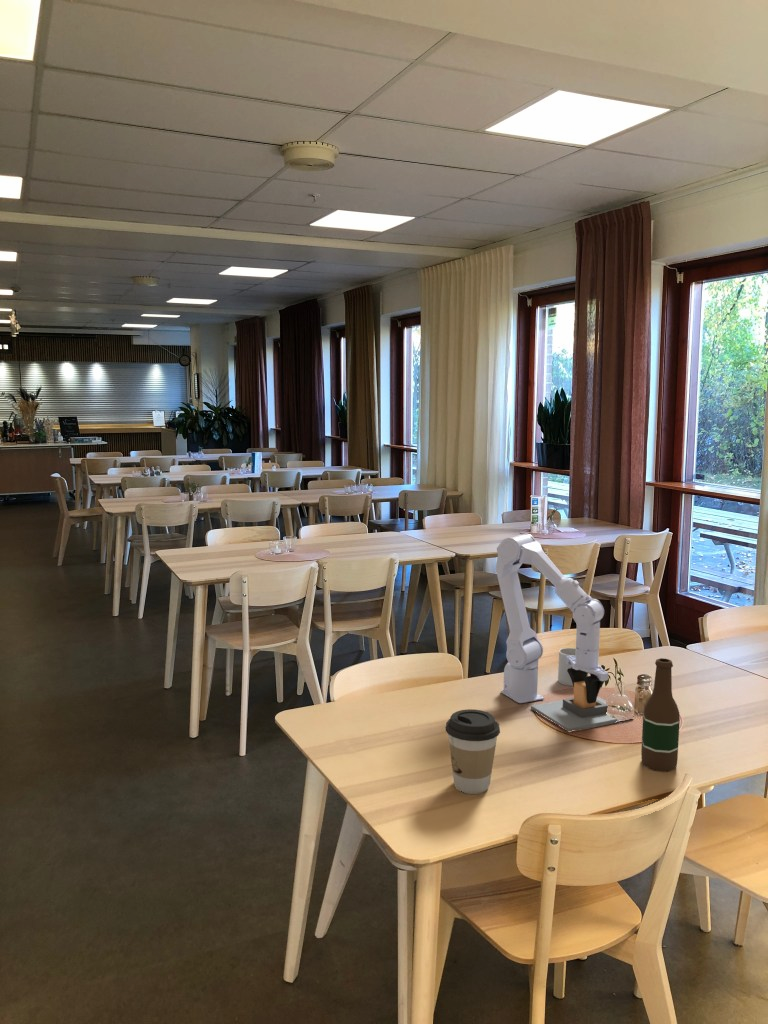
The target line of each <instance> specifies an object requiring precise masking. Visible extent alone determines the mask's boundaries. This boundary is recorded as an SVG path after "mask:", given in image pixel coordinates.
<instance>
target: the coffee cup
mask: <svg viewBox="0 0 768 1024" xmlns="http://www.w3.org/2000/svg"><path fill="white" fill-rule="evenodd" d="M445 733H447V734H448V735H447V736H448V741H449V742H448V743H449V744H448V745H449V751H450V753H449V754H450V761H451V768H452V777H453V779H452V780H453V784H454V787H455V786H456V787H455V788H457V789H458V791H459V790H460V791H459V792H461V791H462V792H461V793H463V792H464V794H469V795H478V793H479V794H483V793H486V791H488V789H489V787H490V784H491V779H492V777H491V776H492V772H493V767H494V766H493V765H494V759H495V753H496V747H497V739H498V737H499V735H500V734H501V728H500V724H499V722H498V721H497V720H496V718H495V716H494V715H493V714H492V713H490V712H488V711H485V710H482V709H481V710H480V709H472V708H471V709H470V708H469V709H461V710H458V711H457V710H456V711H455V712H453V713H451V715H450V718H448V720H447V721H446V723H445ZM457 789H456V790H457Z"/></svg>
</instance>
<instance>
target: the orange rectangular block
mask: <svg viewBox="0 0 768 1024" xmlns="http://www.w3.org/2000/svg"><path fill="white" fill-rule="evenodd" d="M573 698H574V702H573V703H574V704H576V705H578V706H580V707H581V708H588V707H593V706H596V702H595V703H588V702H587V690H586V685H585V681H580V682H574V687H573Z"/></svg>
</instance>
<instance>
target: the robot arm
mask: <svg viewBox="0 0 768 1024" xmlns="http://www.w3.org/2000/svg"><path fill="white" fill-rule="evenodd" d="M541 545H542V544H541V543H540V542H538V540H536V538H534V536H533V535H532V534H529V533H521V534H519V535H515V536H511V537H506V538H504V539H502V540H501V541H500V543H499V545H498V546H497V547H496V551H497V558H496V563H495V571H496V576H497V580H498V584H499V585H498V586H499V590H500V595H501V599H502V603H503V607H504V611H505V616H506V620H507V623H508V629H509V634H508V637H507V638H506V641H505V642H506V654H505V656H506V659H507V663H506V664H505V666H504V668H503V669H504V670H503V689H501V690H500V693H502V694H503V695H505V696H507V697H508V698H509V699H511V700H512V701H514V702H516V703H518V704H524V703H530V702H535V701H541V700H544V699H545V697H544V696H542V695H540V693H538V684H539V683H538V682H539V679H538V678H539V676H538V675H539V659H541V658H542V656H543V654H544V647H543V644H542V643H541V641H540V640H539V638H538V636H537V635H538V634H537V632H536V631H535V630H533V629H532V628H531V626H530V621H529V617H528V612H527V609H526V604H525V601H524V595H523V590H522V586H521V581H520V577H519V573H518V570H520V568H521V566H522V565H523V564H524V565H530V566H531V565H532V566H533V567H534V568H536V569H537V570H538V571H539V572H540V574H542V575H543V576H544V577H545V578H546V579H547V580H548V581H549V582H551V584H552V585H553V586H554V592H555V593H554V594H556V596H557V597H559V599H560V601H562V602H563V603H564V604H565V605H566V607H567V608H568V609H569V610H570V611H571V612H572V618H573V621H574V622H575V623H576V629H575V630H576V632H575V633H576V635H575V648H576V657H574V656H567V657H566V664H568V665H570V664H571V665H572V667H571V668H569V669H567V672H568V674H569V675H570V678H571V680H572V683H573V686H572V687H573V688H574V682H580V681H585V685H586V690H587V702H588V703H595V702H596V699H597V696H598V697H599V693H600V691H601V688H602V686H603V684H604V683H605V682H607V681H608V680H609V672H607V671H606V670H604V669H603V667H602V666H601V665H600V664H599V659H600V658H599V656H600V655H599V653H600V637H601V636H600V633H601V632H600V631H601V629H600V628H601V620H602V619H603V618H604V615H605V609H604V606H603V604H602V602H601V601H600V600H599V599H596V598H593V597H592V596H591V595H590V594H589V595H588V593H586V591H584V589H583V588H582V587H581V586H580V585H579V584H580V582H578V581H579V580H578V581H577V579H573V578H572V577H565V576H564V574H563V573H562V571H560V570H559V568H558V567H557V565H555V563H554V562H553V561H552V559H550V558H549V556H548V555H547V554H546V552H544V550H543V548H542V546H541ZM587 674H588V676H587Z"/></svg>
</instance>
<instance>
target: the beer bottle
mask: <svg viewBox="0 0 768 1024" xmlns="http://www.w3.org/2000/svg"><path fill="white" fill-rule="evenodd" d="M654 664H655V666H656V667H655V674H654V675H655V676H654V682H653V690H652V692H651V694H650V695H649V697H648V698H647V699H646V701H645V704H644V706H643V711H642V717H643V718H642V728H641V729H642V731H641V732H642V734H641V755H640V757H641V761H642V764H643V766H644V767H645V768H648V769H650V770H652V771H654V772H655V771H656V772H667V773H668V772H670V771H673V770H674V769H675V770H676V768H677V765H678V755H679V742H680V741H679V738H680V737H679V735H680V722H681V721H680V720H681V719H680V711H679V707H678V705H677V702H676V701H675V699H674V697H673V689H672V687H673V686H672V685H673V683H672V682H673V681H672V677H673V676H672V673H673V672H672V668H673V667H674V665H673V661H672V660H671V659H668V658H663V657H661V658H658V659H656V660H655V662H654Z"/></svg>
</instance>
